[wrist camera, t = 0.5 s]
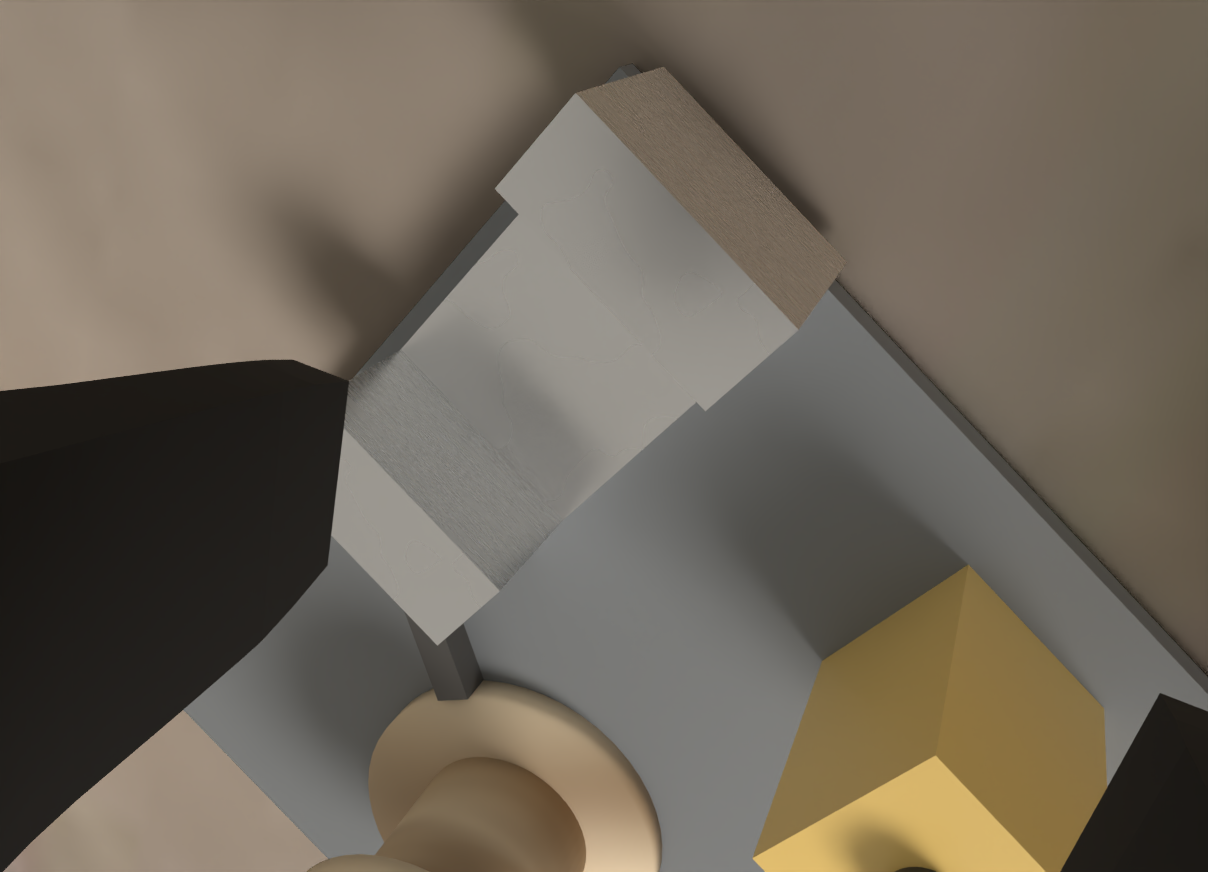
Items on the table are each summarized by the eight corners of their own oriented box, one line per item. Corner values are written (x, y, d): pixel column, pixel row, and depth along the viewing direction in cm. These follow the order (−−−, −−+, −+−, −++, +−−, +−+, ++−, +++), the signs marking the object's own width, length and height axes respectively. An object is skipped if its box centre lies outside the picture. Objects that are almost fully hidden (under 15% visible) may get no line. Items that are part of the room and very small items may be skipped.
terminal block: (846, 262, 17) (798, 330, 14) (528, 546, 21) (437, 645, 18) (664, 66, 17) (575, 92, 14) (378, 389, 21) (262, 463, 18)
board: (1406, 889, 18) (1428, 950, 17) (664, 1172, 27) (646, 1224, 26) (632, 63, 18) (602, 71, 17) (140, 633, 27) (99, 663, 26)
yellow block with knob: (1103, 708, 18) (1115, 1007, 13) (947, 792, 20) (902, 1087, 15) (968, 564, 18) (926, 809, 13) (822, 660, 20) (733, 911, 15)
